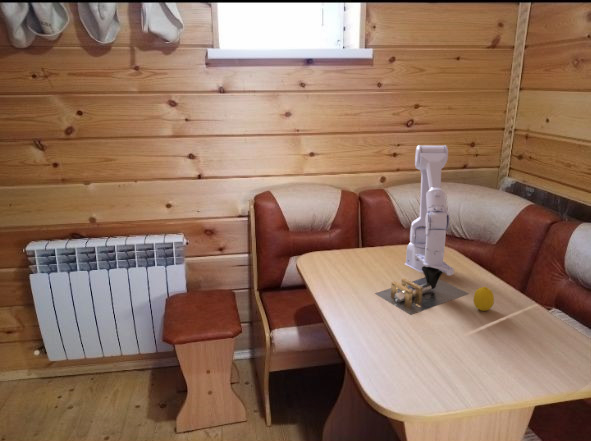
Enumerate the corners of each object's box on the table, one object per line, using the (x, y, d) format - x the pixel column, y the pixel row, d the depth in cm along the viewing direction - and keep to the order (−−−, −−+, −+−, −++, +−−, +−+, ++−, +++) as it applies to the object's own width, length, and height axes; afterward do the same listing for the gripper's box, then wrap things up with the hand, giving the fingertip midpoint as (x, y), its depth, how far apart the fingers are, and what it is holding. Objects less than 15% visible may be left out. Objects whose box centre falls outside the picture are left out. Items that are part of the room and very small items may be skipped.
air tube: (400, 303, 144) (401, 295, 143) (394, 299, 147) (394, 291, 146) (431, 293, 151) (432, 284, 150) (424, 289, 153) (425, 281, 152)
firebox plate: (374, 295, 151) (375, 279, 149) (431, 276, 163) (432, 262, 161) (410, 316, 138) (411, 299, 136) (468, 295, 150) (470, 279, 148)
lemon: (470, 313, 139) (473, 288, 137) (473, 305, 144) (476, 281, 141) (491, 317, 137) (494, 292, 134) (493, 309, 141) (496, 285, 139)
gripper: (408, 243, 152) (406, 282, 156) (443, 258, 140) (439, 300, 144) (424, 239, 155) (421, 277, 159) (460, 253, 143) (455, 294, 148)
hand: (431, 287), depth 152 cm, fingers closed, pressing on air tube
